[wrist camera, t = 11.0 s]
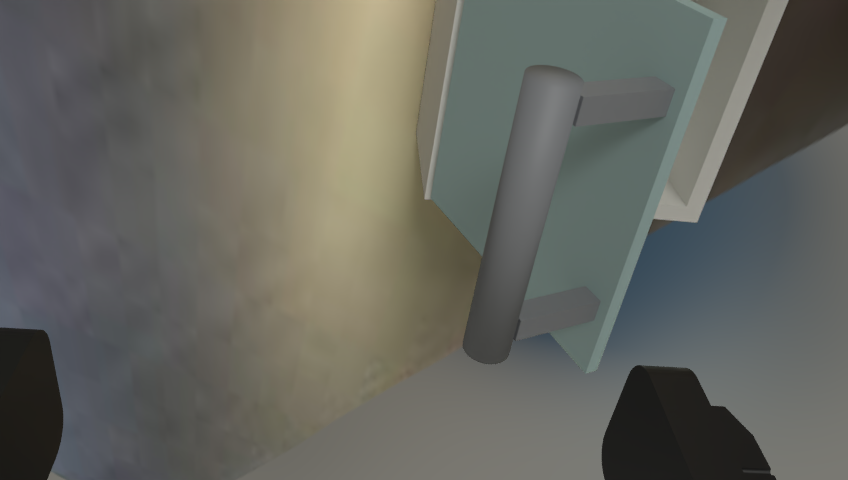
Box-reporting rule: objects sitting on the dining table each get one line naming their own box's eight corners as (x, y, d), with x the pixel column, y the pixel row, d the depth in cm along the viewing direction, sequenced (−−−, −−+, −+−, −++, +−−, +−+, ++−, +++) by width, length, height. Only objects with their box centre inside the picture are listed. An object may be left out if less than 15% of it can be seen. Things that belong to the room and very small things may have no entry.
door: (492, -96, 33) (361, -103, 30) (727, 18, 23) (565, 24, 21) (440, 196, 41) (334, 212, 39) (596, 370, 32) (469, 408, 29)
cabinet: (457, -143, 39) (476, -113, 33) (744, -101, 42) (815, -65, 35) (416, 132, 48) (424, 199, 42) (653, 155, 51) (697, 222, 44)
